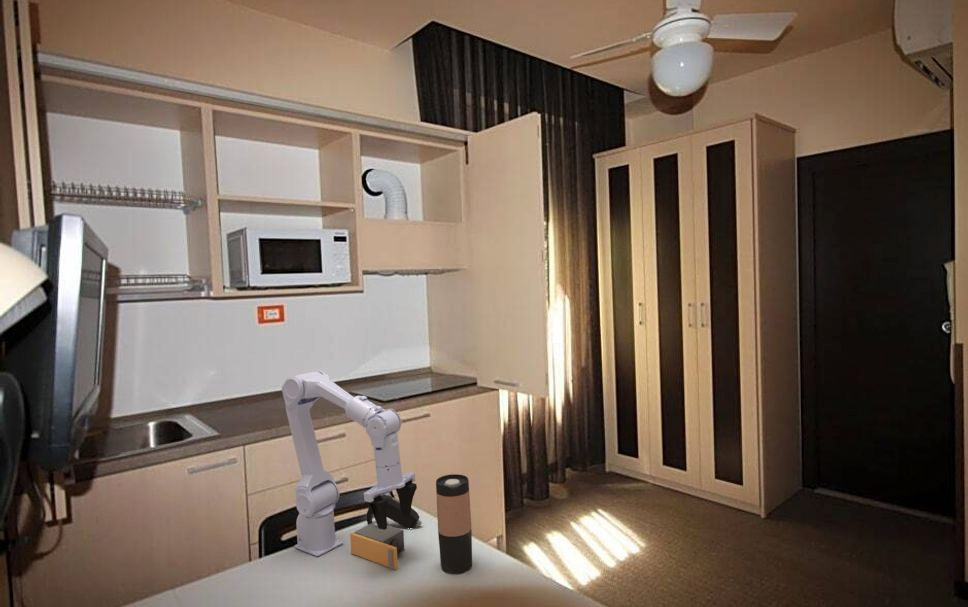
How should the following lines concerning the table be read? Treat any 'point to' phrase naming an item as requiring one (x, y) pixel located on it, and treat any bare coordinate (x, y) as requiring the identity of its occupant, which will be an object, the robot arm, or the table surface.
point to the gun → (397, 514)
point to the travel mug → (454, 523)
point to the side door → (374, 550)
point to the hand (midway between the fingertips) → (394, 522)
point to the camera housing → (384, 535)
